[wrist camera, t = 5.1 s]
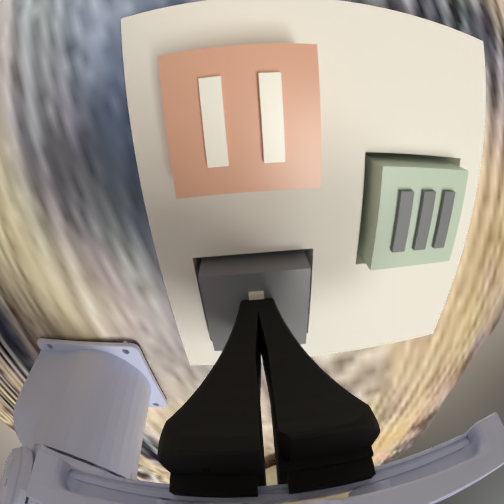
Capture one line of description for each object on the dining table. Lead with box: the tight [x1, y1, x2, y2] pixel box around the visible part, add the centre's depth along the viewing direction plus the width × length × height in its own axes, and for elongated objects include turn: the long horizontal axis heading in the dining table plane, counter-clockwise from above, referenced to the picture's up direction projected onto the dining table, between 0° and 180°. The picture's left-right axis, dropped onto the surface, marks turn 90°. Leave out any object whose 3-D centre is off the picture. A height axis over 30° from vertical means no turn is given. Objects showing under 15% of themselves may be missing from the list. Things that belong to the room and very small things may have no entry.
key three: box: [357, 152, 469, 270], centre depth 12 cm, size 4×4×3 cm
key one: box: [198, 249, 311, 351], centre depth 14 cm, size 4×4×3 cm
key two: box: [158, 43, 321, 199], centre depth 9 cm, size 4×4×3 cm
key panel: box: [121, 0, 486, 365], centre depth 12 cm, size 15×17×2 cm
